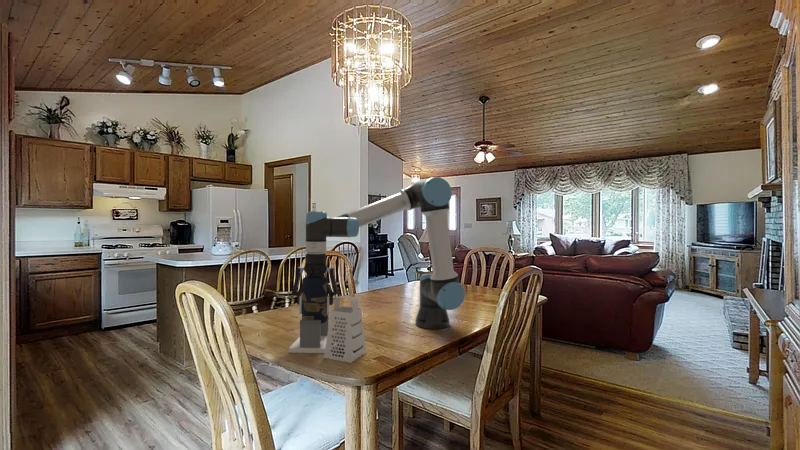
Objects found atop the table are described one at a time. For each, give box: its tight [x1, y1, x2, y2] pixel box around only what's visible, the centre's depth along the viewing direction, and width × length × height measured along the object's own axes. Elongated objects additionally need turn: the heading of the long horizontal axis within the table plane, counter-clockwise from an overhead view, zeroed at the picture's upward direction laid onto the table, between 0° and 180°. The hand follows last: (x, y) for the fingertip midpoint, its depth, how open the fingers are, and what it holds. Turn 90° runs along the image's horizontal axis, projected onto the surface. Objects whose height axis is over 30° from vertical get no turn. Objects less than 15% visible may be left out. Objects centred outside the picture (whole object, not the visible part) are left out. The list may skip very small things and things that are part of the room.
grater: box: [323, 295, 367, 363], centre depth 131 cm, size 10×10×20 cm
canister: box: [301, 276, 329, 324], centre depth 140 cm, size 10×10×18 cm
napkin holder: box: [288, 314, 330, 354], centre depth 141 cm, size 14×17×11 cm
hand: (314, 313), depth 141 cm, fingers closed on canister, 9 cm apart
